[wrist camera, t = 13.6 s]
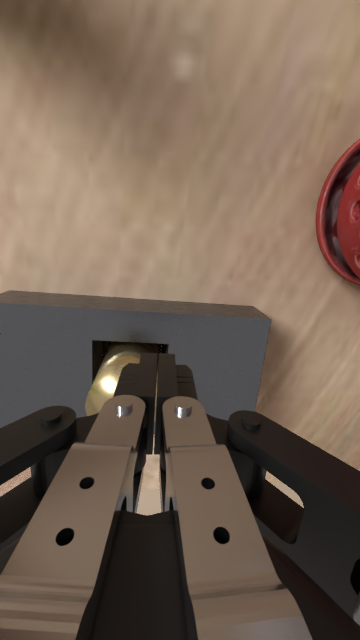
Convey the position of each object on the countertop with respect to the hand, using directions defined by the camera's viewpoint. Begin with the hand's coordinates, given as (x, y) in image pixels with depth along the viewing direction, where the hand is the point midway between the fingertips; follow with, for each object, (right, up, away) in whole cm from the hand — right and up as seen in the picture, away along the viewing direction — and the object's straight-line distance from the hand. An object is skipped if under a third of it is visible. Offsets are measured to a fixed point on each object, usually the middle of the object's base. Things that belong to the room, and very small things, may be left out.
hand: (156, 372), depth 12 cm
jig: (-3, -1, +12) cm, 12 cm away
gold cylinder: (-3, -1, +12) cm, 12 cm away
